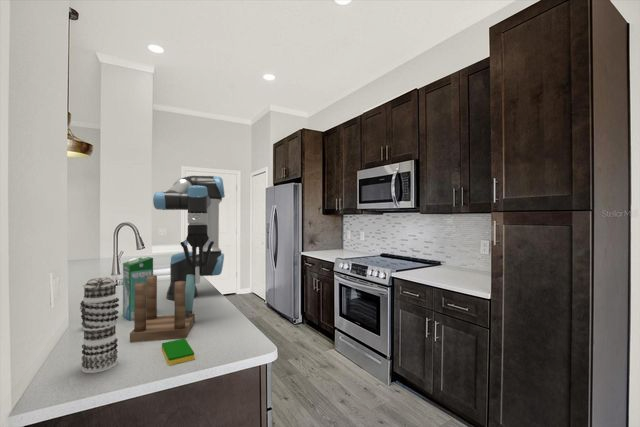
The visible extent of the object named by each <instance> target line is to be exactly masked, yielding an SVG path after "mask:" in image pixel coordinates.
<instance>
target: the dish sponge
mask: <svg viewBox="0 0 640 427" xmlns="http://www.w3.org/2000/svg"><path fill="white" fill-rule="evenodd" d="M186 339H187V338H178V339H173V340H169V341H166V342H161V350H162V353H163V355H164V357H165V360H166V363H167V364H168V366H172V365H176V364H181V363H185V362H189V361H193V360H195V352H194V350H193V348H192V347H191V345H190V344H189V343H188V341H187V340H186Z"/></svg>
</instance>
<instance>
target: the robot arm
mask: <svg viewBox="0 0 640 427" xmlns="http://www.w3.org/2000/svg"><path fill="white" fill-rule="evenodd" d="M225 197H226V195H225V187H224V180H223V178H222V177H221V176H215V175H189V176H184V177H182V178H179V179H177V180H176V181H175V182H174V183H173V185H172V186H171V187H170V188H169V189H167V190H166V191H156V192H155V193H154V194H153V198H152V201H153V202H152V203H153V208H154V209H155V210H160V211H161V210H162V211H167V210H168V211H176V210H179V211H184V210H185V211H187V224H188V225H187V235H186V238H185V239H184V240H183V241H181V242H180V245H181V247H182V249H183V252H179V253H174V254H172V255H171V256H170V264H169V265H170V276H169V277H170V280H169V281H170V283H169V286H168V289H167V292H166V299H167V300H170V301H175V282H176V281H186V277H187V275H188V274H193V275H195V292H194V298H196V297H198V295H199V291H198V288H197V285H196V284H200V283H201V277H208V276H209V277H213V276H214V277H215V276H220V275H221V274H222V272H223V267H224V260H225V253H223V252H222V249H221V248H220V247H219V245H220V244H219V241H220V240H219V238H220V237H219V236H220V234H219V232H220V230H219V229H220V227H219V226H220V223H219V222H220V221H219V220H220V218H219V216H220V203H222V201H223V199H224V198H225ZM188 245H190V247H191V251H189V247H188ZM197 248H198V254H197ZM185 286H186V283H185Z"/></svg>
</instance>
